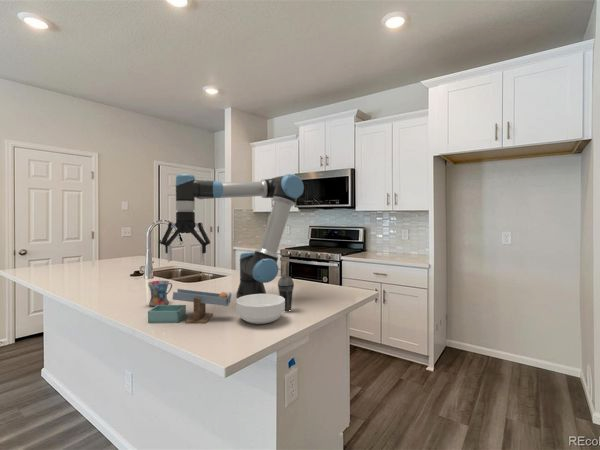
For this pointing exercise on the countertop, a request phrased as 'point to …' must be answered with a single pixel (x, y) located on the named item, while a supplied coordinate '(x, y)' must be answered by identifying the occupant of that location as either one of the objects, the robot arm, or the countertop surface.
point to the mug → (159, 292)
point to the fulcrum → (199, 313)
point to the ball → (223, 295)
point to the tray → (166, 314)
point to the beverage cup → (286, 290)
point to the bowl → (260, 308)
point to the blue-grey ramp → (201, 297)
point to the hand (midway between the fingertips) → (185, 261)
